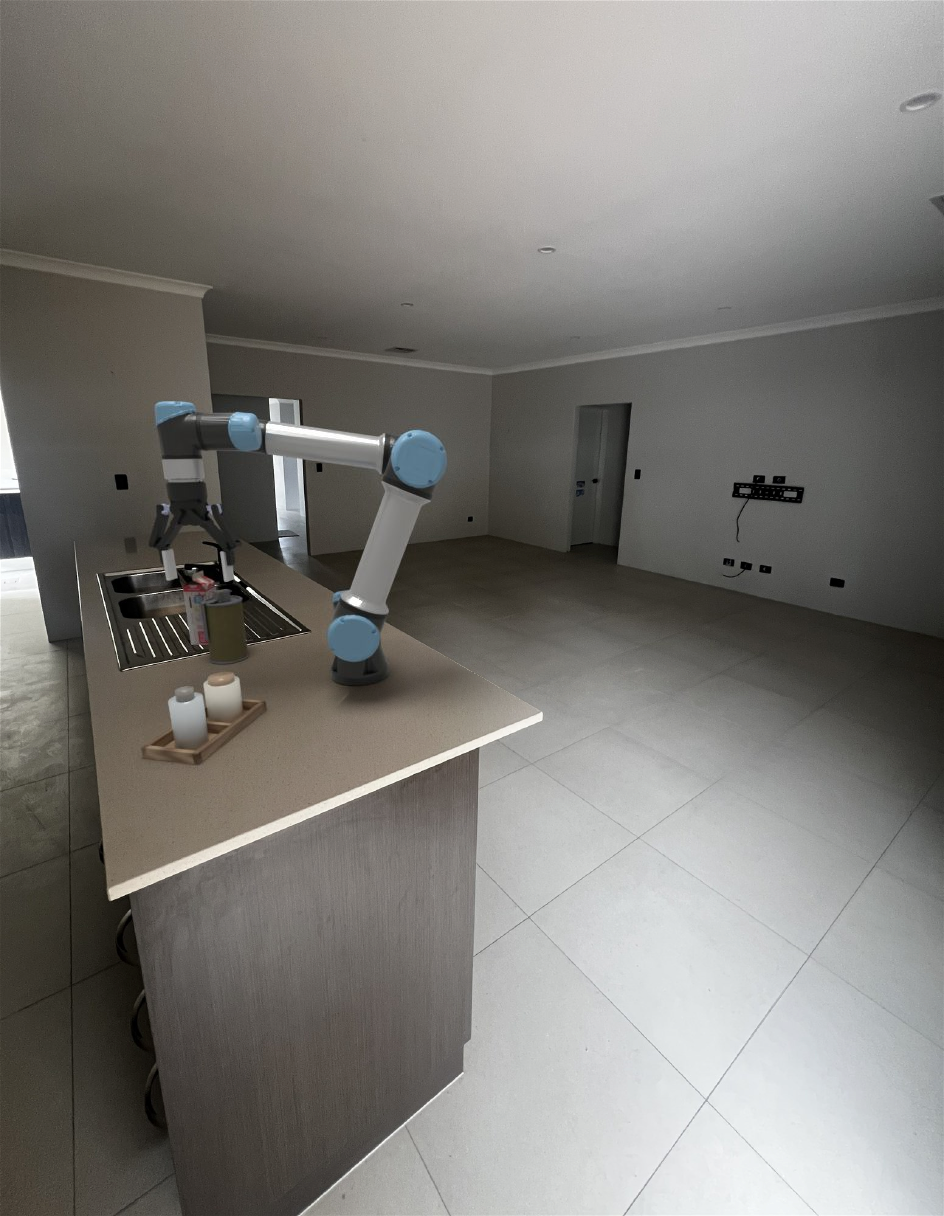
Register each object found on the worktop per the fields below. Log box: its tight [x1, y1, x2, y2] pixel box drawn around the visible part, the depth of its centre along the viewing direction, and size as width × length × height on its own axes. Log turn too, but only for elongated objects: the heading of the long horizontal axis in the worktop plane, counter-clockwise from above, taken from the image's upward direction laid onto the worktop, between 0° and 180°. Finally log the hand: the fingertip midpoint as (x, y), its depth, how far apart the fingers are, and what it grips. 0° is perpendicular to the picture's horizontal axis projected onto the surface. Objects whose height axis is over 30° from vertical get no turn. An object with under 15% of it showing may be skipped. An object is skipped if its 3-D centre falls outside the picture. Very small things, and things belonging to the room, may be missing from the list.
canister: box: [200, 588, 250, 665], centre depth 153 cm, size 11×10×20 cm
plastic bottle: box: [167, 685, 209, 751], centre depth 106 cm, size 6×6×12 cm
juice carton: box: [182, 570, 216, 646], centre depth 167 cm, size 7×7×22 cm
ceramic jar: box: [203, 671, 244, 723], centre depth 116 cm, size 7×7×10 cm
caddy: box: [140, 698, 268, 766], centre depth 112 cm, size 12×23×3 cm, turn 169°
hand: (200, 579), depth 119 cm, fingers open, 13 cm apart
